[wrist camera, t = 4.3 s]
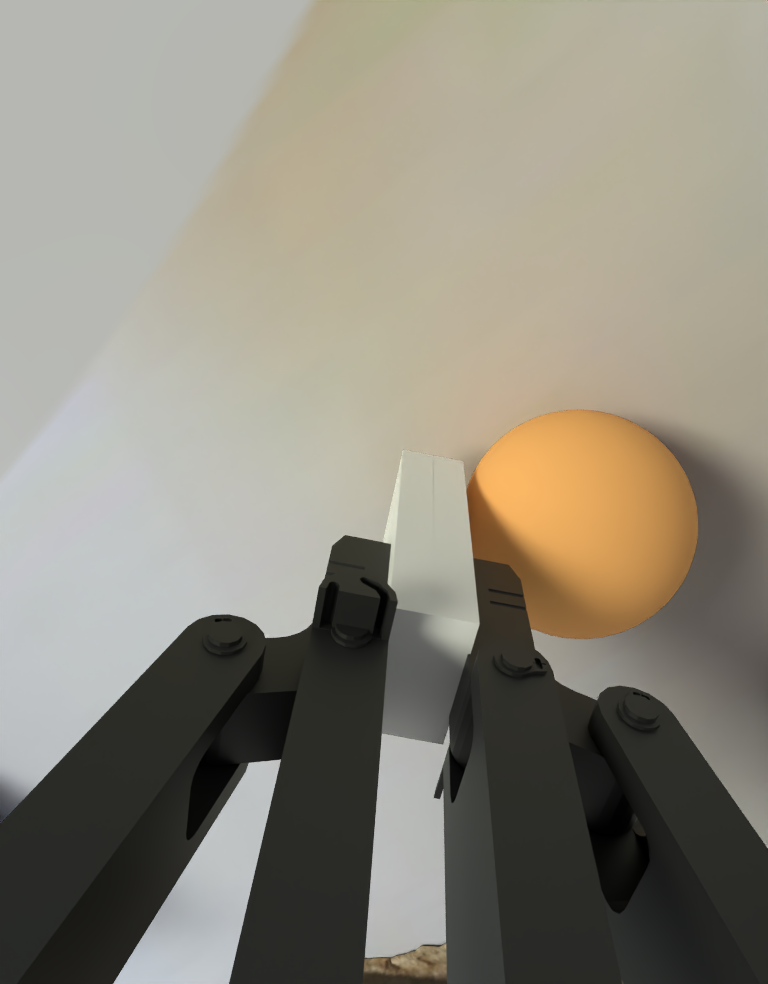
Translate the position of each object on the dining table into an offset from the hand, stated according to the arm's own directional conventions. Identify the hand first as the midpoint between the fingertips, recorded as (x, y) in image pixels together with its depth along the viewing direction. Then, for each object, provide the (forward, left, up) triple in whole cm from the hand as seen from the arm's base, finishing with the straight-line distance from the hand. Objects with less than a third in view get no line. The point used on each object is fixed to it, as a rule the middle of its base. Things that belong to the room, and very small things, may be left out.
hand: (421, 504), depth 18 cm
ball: (0, +4, 0) cm, 4 cm away
